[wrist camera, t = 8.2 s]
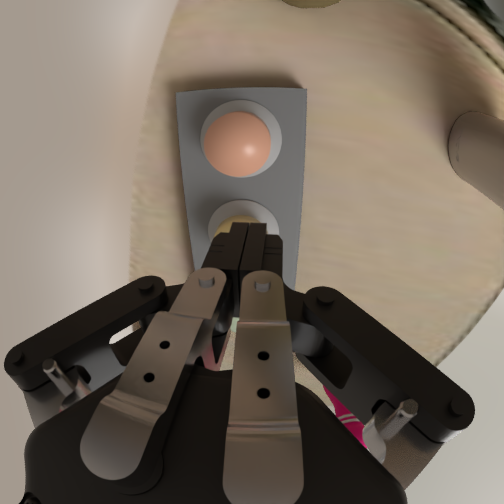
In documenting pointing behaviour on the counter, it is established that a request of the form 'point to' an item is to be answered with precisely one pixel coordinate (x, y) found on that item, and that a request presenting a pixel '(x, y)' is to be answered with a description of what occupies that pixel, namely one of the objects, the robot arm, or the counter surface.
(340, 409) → the pepper mill
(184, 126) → the button panel
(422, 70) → the counter surface
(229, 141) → the terracotta button
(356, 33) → the counter surface
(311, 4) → the squeeze bottle
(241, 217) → the ochre button
